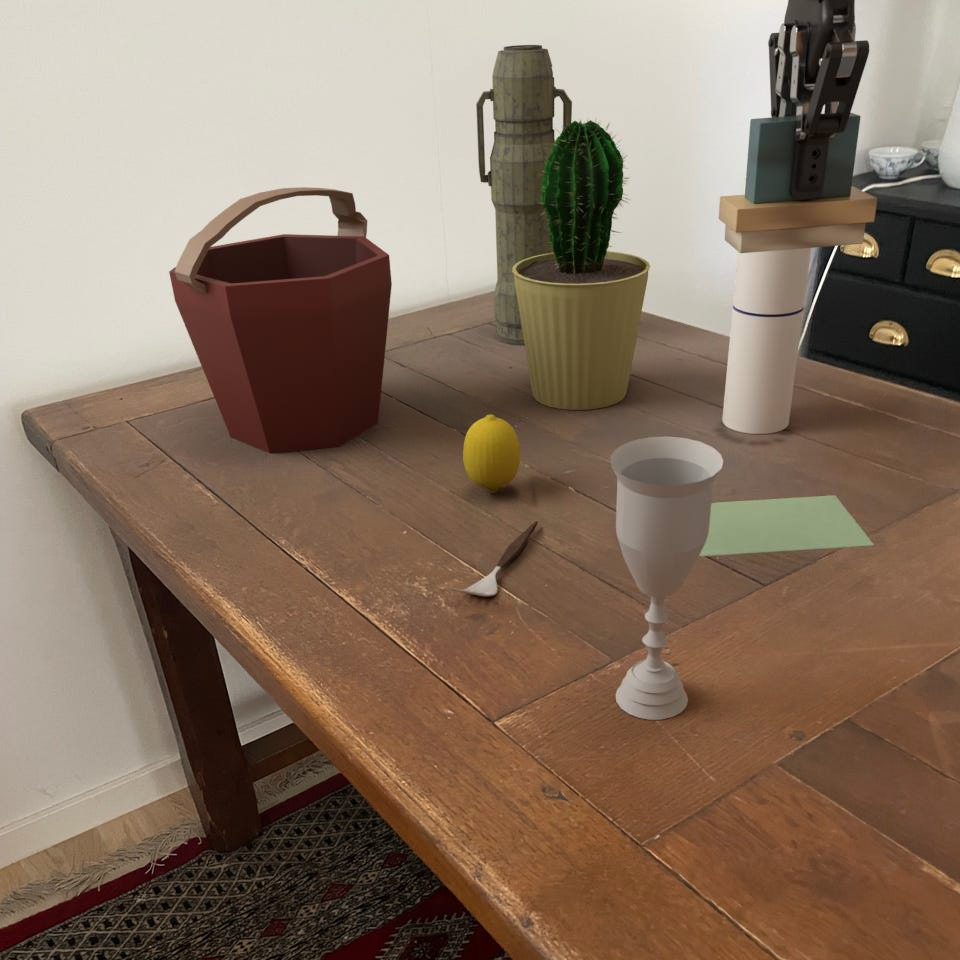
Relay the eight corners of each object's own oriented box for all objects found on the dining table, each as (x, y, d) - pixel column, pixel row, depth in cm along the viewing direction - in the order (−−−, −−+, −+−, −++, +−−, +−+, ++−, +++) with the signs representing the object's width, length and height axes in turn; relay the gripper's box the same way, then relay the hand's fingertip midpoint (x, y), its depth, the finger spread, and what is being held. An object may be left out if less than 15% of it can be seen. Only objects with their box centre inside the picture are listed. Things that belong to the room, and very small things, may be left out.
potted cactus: (509, 416, 118) (501, 127, 101) (520, 372, 130) (515, 108, 114) (644, 417, 116) (659, 122, 99) (643, 371, 128) (655, 103, 112)
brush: (847, 229, 78) (863, 107, 73) (871, 244, 74) (889, 116, 69) (716, 240, 78) (724, 118, 73) (733, 254, 74) (743, 127, 69)
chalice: (700, 733, 68) (724, 487, 59) (598, 725, 70) (605, 483, 60) (700, 671, 74) (722, 438, 65) (606, 664, 76) (614, 434, 66)
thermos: (574, 342, 139) (577, 46, 120) (488, 347, 139) (477, 51, 120) (565, 323, 147) (566, 41, 128) (483, 328, 146) (472, 46, 127)
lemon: (480, 477, 104) (476, 401, 100) (530, 485, 102) (528, 408, 98) (455, 499, 100) (450, 421, 96) (506, 508, 98) (504, 429, 94)
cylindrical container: (711, 426, 113) (732, 181, 99) (737, 405, 117) (761, 169, 104) (774, 438, 109) (805, 186, 95) (798, 416, 114) (831, 173, 100)
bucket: (358, 376, 131) (335, 164, 118) (449, 427, 116) (434, 189, 102) (174, 422, 121) (124, 195, 107) (246, 484, 105) (199, 227, 91)
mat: (834, 498, 97) (835, 494, 96) (874, 549, 88) (874, 545, 88) (666, 509, 96) (666, 505, 96) (690, 560, 88) (690, 556, 88)
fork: (550, 528, 94) (550, 509, 93) (480, 615, 82) (478, 594, 81) (524, 524, 95) (524, 504, 94) (450, 609, 83) (449, 588, 82)
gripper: (938, -111, 59) (887, 210, 68) (850, -98, 70) (817, 175, 80) (808, -103, 59) (775, 217, 68) (742, -92, 70) (722, 181, 80)
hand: (798, 193), depth 74 cm, fingers closed on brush, 2 cm apart
